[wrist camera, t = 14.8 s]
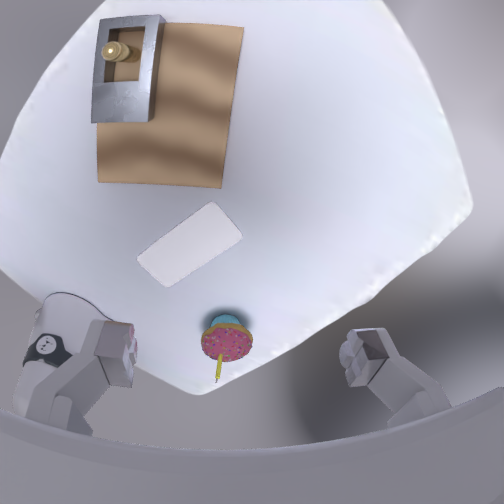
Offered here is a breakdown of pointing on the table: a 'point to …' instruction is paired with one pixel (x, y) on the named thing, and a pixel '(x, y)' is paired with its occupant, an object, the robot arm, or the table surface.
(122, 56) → the post
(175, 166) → the oak board
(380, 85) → the table surface
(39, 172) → the table surface
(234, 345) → the cupcake
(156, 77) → the steel link
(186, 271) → the smartphone
